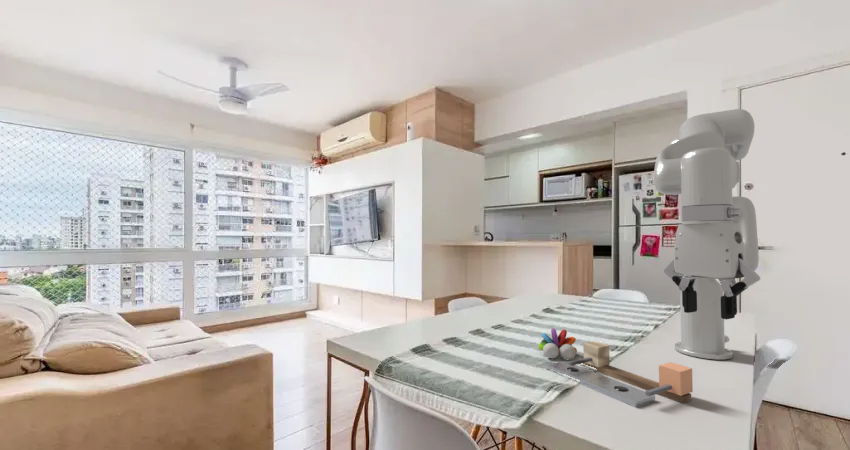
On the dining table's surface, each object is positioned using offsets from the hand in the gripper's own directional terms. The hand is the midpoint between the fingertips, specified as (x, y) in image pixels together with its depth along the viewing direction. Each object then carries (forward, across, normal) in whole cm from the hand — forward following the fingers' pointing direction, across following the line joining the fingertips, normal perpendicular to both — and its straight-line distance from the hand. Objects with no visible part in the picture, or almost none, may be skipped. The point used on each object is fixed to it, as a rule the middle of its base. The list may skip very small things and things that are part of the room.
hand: (708, 314), depth 68 cm
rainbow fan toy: (+18, +35, +1) cm, 39 cm away
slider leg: (+16, +6, +3) cm, 17 cm away
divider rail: (+17, +16, +3) cm, 24 cm away
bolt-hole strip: (+17, +18, +8) cm, 26 cm away
